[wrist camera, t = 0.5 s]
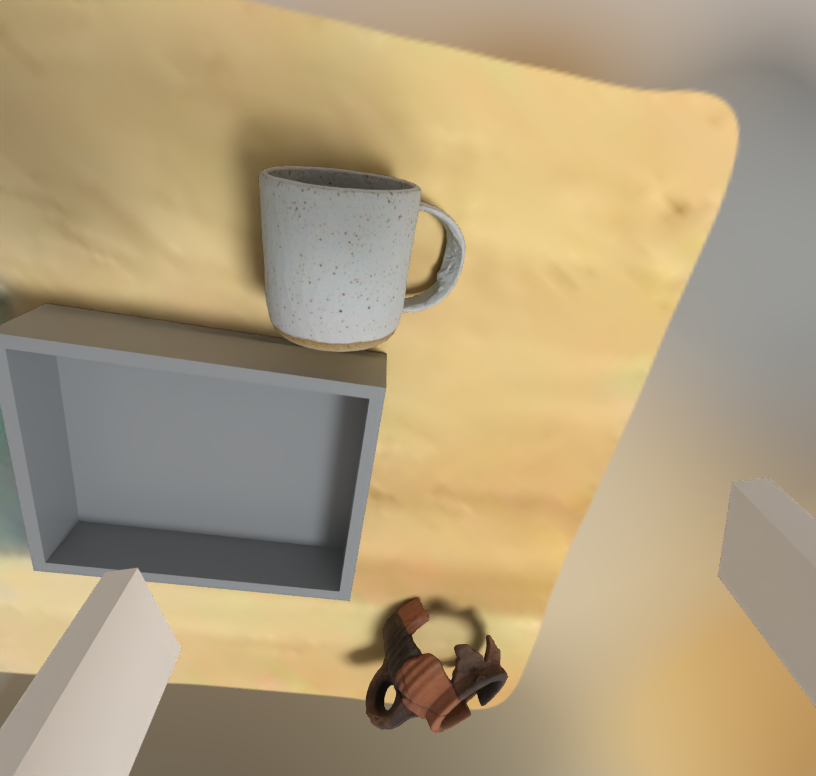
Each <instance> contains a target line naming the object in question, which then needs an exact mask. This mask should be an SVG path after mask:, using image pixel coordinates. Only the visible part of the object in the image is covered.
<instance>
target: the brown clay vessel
mask: <svg viewBox="0 0 816 776" xmlns="http://www.w3.org/2000/svg"><path fill="white" fill-rule="evenodd" d="M428 621H429V616H428V614H427V612H426V610H425V609H424V608H423V606H422V603H421V602H420V599H419V598H415V599H413V600H411V601H409V602H408V603H407V604H405V605H404V606H402V607H401V608H400V609H399V610H398V611H397V612H396V613H395V614H394V615H393V616H392V617H391V618H390V619H388V621H387V623H386V624H385V625H384V628H383V638H384V647H385V659H384V662H383V665H382V666H381V668H380V669H379V670H378V671H377V673H376V674H375V676H374V677H373V679H372V681H371V683H370V685H369V687H368V691H367V695H366V714H367V715H368V717H369V718H370V720H371V723H372V724H373V725H374V726H376V727H377V728H380V729H393V728H396V727H398V726H400V725H401V724H403V723H404V722H405V721H407V720H408V719H410V718H414V717H421V718H422V719H424V718H426V720H427V722H428V724H429V726H430V729H431V731H432V732H435V733H437V732H442V731H444V730H447V729H448V728H451V727H453V726H455V725H456V724H458V723H460V722H461V721H463V720H465V719H466V718H468V717H469V716H470V715H471V712H470V710H469V707H468V706H467V702H468V701H469V700H470V699H472V698H473V697H474V696H475V695H476V694H477V695H478V699H479V702H480V704H481V706H484V705H486V704H487V703H488V702H489V701H490V700H491V699H492V698H493V697H494V696H495V695H496V694H497V693H498V692H499V691H500V689H501V688H502V687H503V686H504V684H505V682H506V680H507V678H508V676H507V673H506V671H505V670H504V669H503V668H502V667H501V666H500V650H499V649H498V648H497V646H496V645H495V642H494V640H493V639H492V638H491V636H490V635H487V636H486V644H487V646H486V652H485V657H484V658H483V656H482V655H481V654H480V653H479V652H477V651H475V650H473V649H472V648H471V647H470V646H469V645H467V644H458V645H456V646H455V647H454V650H455V653H456V656H457V660H456V666H455V669H454V671H453V673H452V676H453V677H452V679H451V680H450V679H449V678H448V676H447V675H446V673H445V671H444V669H443V668H442V665H441V662H440V660H439V659H438V658H436V657H435V656H434V655H432V654H430V653H425V654H422V653H421V651H420V649H419V648H418V647H417V646H416V644H415V643H414V642H413V638H412V634H413V633H414V632H415V631H416V630H417V629H418V628H419V627H421V626H422V625H423V624H425V623H426V622H428ZM391 685H394V688H395V690H396V698H395V701H394V703H393V705H392V707H391V708H390V709H389V710H386V709H385V707H384V697H385V694H386V691H387V689H388V687H389V686H391Z"/></svg>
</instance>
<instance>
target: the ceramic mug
mask: <svg viewBox="0 0 816 776" xmlns="http://www.w3.org/2000/svg"><path fill="white" fill-rule="evenodd" d="M259 189H260V202H261V224H262V243H263V254H264V269H265V295H266V302H267V307H268V312H269V316H270V319H271V322H272V324H273V326H274V328H275V329H276V331H277V332H278V333H280V334H281V335H282V336H283V337H284V338H286V339H288V340H289V341H291V342H293V343H296V344H298V345H300V346H303V347H306V348H311V349H316V350H321V351H333V352H347V351H360V350H365V349H369V348H372V347H375V346H377V345H379V344H381V343H383V342H385V341H387V340H388V339H389V338H390V337H391V336H392V335H393V334H394V332H395V330H396V328H397V326H398V323H399V320H400V317H401V314H402V312H405V313H407V312H417V311H421V310H425V309H428V308H430V307H432V306H435V305H436V304H438V303H439V302H441V301H442V300H443V299H444V298H445V297H446V296H447V295H448V294H449V293H450V291H451V290H452V289H453V288H454V286H455V284H456V282H457V280H458V277H459V276H460V273H461V271H462V267H463V263H464V257H465V241H464V237H463V234H462V232H461V230H460V228H459V226H458V225H457V224H456V222H455V221H454V220H453V219H452V218H451V216H450V215H448V214H447V213H445V212H444V211H443V210H441V209H439V208H437V207H435V206H432V205H430V204H427V203H425V202H422V201H420V198H421V189H420V187H419V186H417V185H415V184H414V183H411V182H408V181H406V180H401V179H398V178H395V177H389V176H385V175H380V174H374V173H364V172H359V171H354V170H345V169H335V168H324V167H308V166H282V167H279V166H276V167H273V168H272V167H270V168H267V169H264V170H263V171H261V173H260V175H259ZM418 211H425V212H428V213H430V214H432V215H434V216H435V217H436V218H438V219H439V221H440V222H441V223H442V224H443V225H444V227H445V229H446V237H447V244H446V249H445V253H444V257H443V261H442V265H441V268H440V270H439V272H438V273H437V281H436V282H435V283H434V284H433V286H432V287H430V288H429V289H428V290H426V291H425V292H423V293H422V294H419V295H415V296H413V297H409V298H405V293H406V284H407V275H408V268H409V263H410V257H411V251H412V246H413V240H414V234H415V227H416V222H417V216H418Z"/></svg>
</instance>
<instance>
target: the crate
mask: <svg viewBox="0 0 816 776" xmlns="http://www.w3.org/2000/svg"><path fill="white" fill-rule="evenodd" d="M386 363H387V354H385V353H378V352H372V351H365V350H360V351H347V352H333V351H321V350H316V349H311V348H306V347H303V346H300V345H298V344H296V343H293V342H291V341H289V340H288V339H284V338H277V337H270V336H263V335H256V334H250V333H243V332H236V331H229V330H223V329H216V328H209V327H202V326H196V325H189V324H182V323H175V322H168V321H162V320H155V319H148V318H141V317H135V316H128V315H121V314H114V313H108V312H101V311H94V310H87V309H80V308H74V307H67V306H60V305H53V304H47V303H46V304H43V305H41V306H39V307H37V308H35V309H33V310H31V311H29V312H27V313H24V314H22V315H20V316H18V317H16V318H14V319H12V320H10V321H7V322H5V323H3V324H1V325H0V405H1V410H2V415H3V420H4V425H5V430H6V435H7V440H8V445H9V450H10V455H11V460H12V465H13V470H14V475H15V480H16V485H17V490H18V495H19V500H20V505H21V510H22V515H23V520H24V524H25V529H26V534H27V539H28V544H29V549H30V554H31V559H32V564H33V569H34V571H43V572H53V573H64V574H74V575H85V576H95V577H102V576H103V575H104V573H105V572H111V571H117V570H124V569H131V568H138V569H139V571H140V573H141V574H142V576H143V578H144V580H145V581H147V582H157V583H168V584H178V585H189V586H199V587H209V588H220V589H230V590H241V591H251V592H261V593H272V594H282V595H293V596H303V597H313V598H324V599H334V600H345V601H350V596H351V591H352V585H353V579H354V573H355V567H356V561H357V555H358V550H359V544H360V538H361V532H362V526H363V520H364V514H365V509H366V503H367V497H368V491H369V485H370V479H371V473H372V468H373V462H374V456H375V450H376V444H377V438H378V432H379V427H380V421H381V415H382V409H383V403H384V397H385V391H386Z"/></svg>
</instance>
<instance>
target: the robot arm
mask: <svg viewBox="0 0 816 776" xmlns="http://www.w3.org/2000/svg"><path fill="white" fill-rule="evenodd" d="M718 577H719V578H720V580H721V581H722V582H723V584H724V585H725V586H726V588H727V589H728V590H729V592H730V593H731V594H732V596H733V597H734V598H735V600H736V601H737V603H738V604H739V605H740V607H741V608H742V609H743V611H744V612H745V613H746V615H747V616H748V617H749V619H750V620H751V621H752V623H753V624H754V625H755V627H756V628H757V629H758V631H759V632H760V633H761V635H762V636H763V637H764V639H765V640H766V641H767V643H768V644H769V645H770V647H771V648H772V650H773V651H774V652H775V653H776V655H777V656H778V658H779V659H780V660H781V662H782V663H783V664H784V665H785V667H786V668H787V670H788V671H789V672H790V674H791V675H792V676H793V678H794V679H795V680H796V682H797V683H798V684H799V686H800V687H801V688H802V690H803V691H804V692H805V694H806V695H807V697H808V698H809V699H810V700H811V702H812V703H813V704H814V706H815V707H816V519H815V518H814V517H813V516H812V515H810V514H809V513H808V512H807V511H806V510H805V509H804V508H803V507H801V506H800V505H799V504H798V503H797V502H796V501H795V500H793V499H792V498H791V497H790V496H789V495H788V494H787V493H786V492H785V491H784V490H782V489H781V488H780V487H779V486H778V485H777V484H776V483H774V482H773V481H772V480H771V479H770V478H769V477H767V478H760V479H753V480H746V481H739V482H732V486H731V493H730V499H729V506H728V512H727V519H726V525H725V532H724V539H723V545H722V552H721V558H720V565H719V572H718ZM180 651H181V647H180V645H179V643H178V641H177V639H176V637H175V636H174V634H173V632H172V630H171V628H170V626H169V625H168V623H167V621H166V619H165V617H164V615H163V613H162V612H161V610H160V608H159V606H158V604H157V602H156V600H155V599H154V597H153V595H152V593H151V591H150V589H149V587H148V586H147V584H146V582H145V580H144V578H143V576H142V574H141V573H140V571H139V569H138V568H131V569H124V570H117V571H111V572H105V573H104V575H103V576H102V578H101V579H100V581H99V582H98V584H97V585H96V587H95V588H94V590H93V591H92V593H91V594H90V596H89V597H88V599H87V600H86V602H85V603H84V605H83V606H82V608H81V609H80V611H79V612H78V614H77V615H76V617H75V618H74V620H73V621H72V623H71V624H70V626H69V627H68V629H67V630H66V632H65V633H64V634H63V636H62V637H61V639H60V640H59V642H58V643H57V645H56V646H55V648H54V649H53V651H52V652H51V654H50V655H49V657H48V658H47V660H46V661H45V663H44V664H43V666H42V667H41V669H40V670H39V672H38V673H37V675H36V676H35V678H34V679H33V681H32V683H31V684H30V686H29V687H28V688H27V690H26V692H25V693H24V694H23V696H22V697H21V699H20V700H19V702H18V703H17V705H16V706H15V708H14V709H13V711H12V712H11V714H10V715H9V717H8V718H7V720H6V721H5V723H4V724H3V726H2V727H1V729H0V776H128V775H129V773H130V770H131V768H132V765H133V763H134V761H135V758H136V756H137V754H138V751H139V749H140V746H141V744H142V742H143V739H144V737H145V734H146V732H147V730H148V727H149V725H150V722H151V720H152V718H153V715H154V713H155V711H156V708H157V706H158V703H159V701H160V698H161V696H162V694H163V691H164V689H165V687H166V684H167V682H168V679H169V677H170V675H171V672H172V670H173V667H174V665H175V663H176V660H177V658H178V656H179V653H180Z"/></svg>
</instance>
